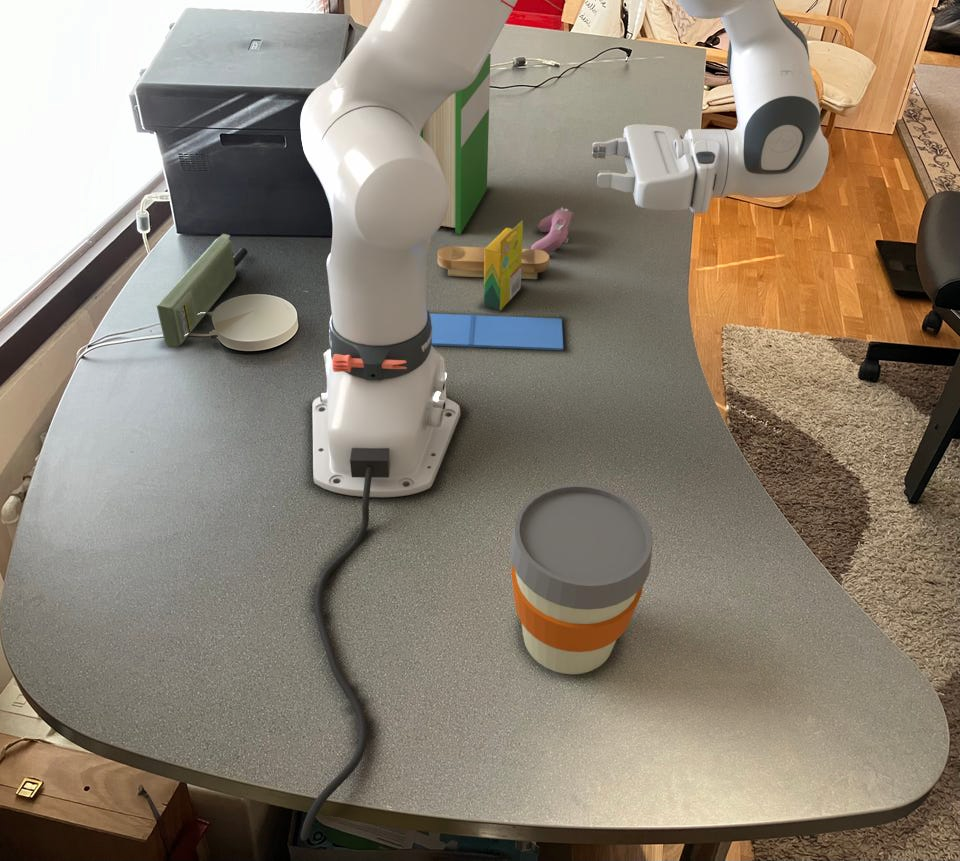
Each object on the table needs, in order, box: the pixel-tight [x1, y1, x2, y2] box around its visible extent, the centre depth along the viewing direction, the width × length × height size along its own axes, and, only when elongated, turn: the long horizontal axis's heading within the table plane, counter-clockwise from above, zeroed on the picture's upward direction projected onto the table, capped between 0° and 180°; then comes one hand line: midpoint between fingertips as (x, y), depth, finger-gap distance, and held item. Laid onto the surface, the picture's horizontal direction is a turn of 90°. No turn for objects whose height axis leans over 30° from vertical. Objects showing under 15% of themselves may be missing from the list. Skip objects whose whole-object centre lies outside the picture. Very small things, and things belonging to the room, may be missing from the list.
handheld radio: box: [156, 233, 248, 348], centre depth 128 cm, size 7×3×25 cm
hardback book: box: [420, 53, 492, 235], centre depth 146 cm, size 18×7×24 cm, turn 165°
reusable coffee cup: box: [509, 483, 653, 675], centre depth 81 cm, size 13×13×15 cm
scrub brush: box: [436, 245, 550, 280], centre depth 137 cm, size 18×4×3 cm, turn 88°
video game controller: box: [530, 206, 574, 255], centre depth 143 cm, size 10×5×7 cm, turn 169°
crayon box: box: [483, 220, 524, 312], centre depth 128 cm, size 7×3×12 cm, turn 152°
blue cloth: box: [429, 312, 564, 351], centre depth 125 cm, size 8×20×1 cm, turn 88°
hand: (594, 164), depth 117 cm, fingers open, 8 cm apart
